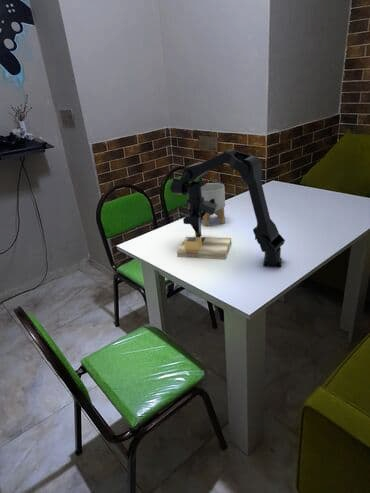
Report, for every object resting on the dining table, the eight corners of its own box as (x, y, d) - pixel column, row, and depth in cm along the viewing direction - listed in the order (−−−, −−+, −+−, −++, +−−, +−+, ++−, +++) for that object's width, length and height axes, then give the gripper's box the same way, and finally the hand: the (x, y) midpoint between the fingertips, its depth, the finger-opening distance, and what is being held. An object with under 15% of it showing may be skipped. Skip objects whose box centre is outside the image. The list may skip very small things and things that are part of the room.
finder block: (199, 250, 139) (198, 241, 137) (185, 249, 141) (183, 241, 139) (202, 244, 143) (201, 236, 141) (188, 244, 145) (187, 236, 143)
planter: (230, 218, 171) (229, 184, 163) (217, 228, 162) (214, 192, 155) (209, 215, 179) (206, 181, 171) (194, 224, 170) (191, 189, 162)
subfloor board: (225, 259, 135) (225, 253, 134) (177, 256, 141) (176, 251, 140) (231, 243, 147) (231, 237, 146) (186, 241, 153) (186, 236, 152)
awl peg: (200, 237, 145) (199, 219, 142) (194, 237, 146) (193, 219, 142) (202, 234, 147) (200, 217, 144) (196, 234, 148) (194, 217, 145)
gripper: (209, 204, 129) (212, 241, 135) (218, 188, 144) (221, 222, 151) (181, 204, 132) (185, 240, 139) (193, 188, 148) (196, 222, 155)
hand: (198, 231), depth 146 cm, fingers closed on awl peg, 3 cm apart
